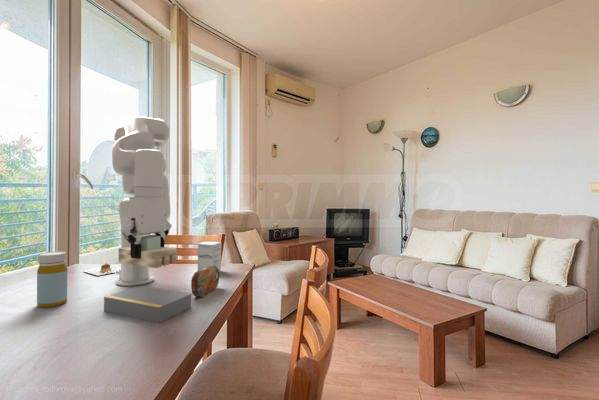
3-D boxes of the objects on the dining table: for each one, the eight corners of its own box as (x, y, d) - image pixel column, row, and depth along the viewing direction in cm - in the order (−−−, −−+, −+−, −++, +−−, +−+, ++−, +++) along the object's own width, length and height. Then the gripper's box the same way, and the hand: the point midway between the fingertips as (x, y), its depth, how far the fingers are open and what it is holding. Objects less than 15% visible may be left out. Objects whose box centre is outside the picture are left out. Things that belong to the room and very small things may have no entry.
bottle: (72, 301, 94) (73, 252, 93) (47, 309, 87) (47, 256, 87) (57, 298, 96) (57, 250, 96) (31, 306, 89) (31, 254, 89)
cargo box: (134, 248, 87) (134, 236, 87) (147, 246, 91) (147, 234, 91) (147, 250, 85) (147, 238, 85) (160, 247, 89) (160, 236, 89)
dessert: (97, 278, 121) (97, 266, 121) (83, 273, 128) (83, 262, 128) (127, 272, 132) (128, 260, 132) (113, 268, 138) (113, 257, 138)
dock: (104, 311, 86) (104, 296, 86) (140, 298, 98) (140, 285, 98) (158, 323, 79) (159, 307, 79) (191, 307, 90) (191, 293, 90)
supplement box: (196, 273, 129) (197, 243, 129) (206, 269, 136) (206, 241, 136) (213, 275, 127) (213, 244, 127) (221, 270, 134) (221, 241, 134)
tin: (198, 300, 97) (198, 273, 97) (189, 299, 97) (189, 273, 97) (219, 286, 111) (220, 263, 111) (211, 286, 112) (212, 263, 112)
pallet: (118, 262, 87) (118, 248, 87) (140, 257, 94) (141, 244, 94) (156, 268, 82) (156, 253, 82) (176, 262, 89) (177, 248, 89)
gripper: (162, 193, 97) (161, 249, 98) (110, 193, 81) (110, 260, 81) (181, 194, 94) (180, 251, 95) (131, 193, 78) (131, 262, 79)
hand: (148, 255), depth 88 cm, fingers closed on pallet, 7 cm apart
